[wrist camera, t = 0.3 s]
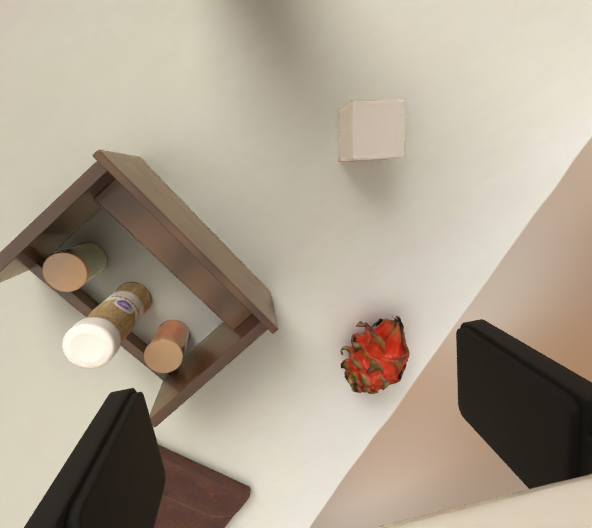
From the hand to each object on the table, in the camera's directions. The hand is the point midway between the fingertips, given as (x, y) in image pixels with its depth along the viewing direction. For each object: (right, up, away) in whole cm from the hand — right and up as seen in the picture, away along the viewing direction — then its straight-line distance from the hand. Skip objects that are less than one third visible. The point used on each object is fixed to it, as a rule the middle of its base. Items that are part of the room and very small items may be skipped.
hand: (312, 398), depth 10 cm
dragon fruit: (+10, -7, +41) cm, 43 cm away
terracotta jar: (-17, -5, +37) cm, 41 cm away
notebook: (-20, -31, +43) cm, 57 cm away
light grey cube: (+8, +20, +34) cm, 40 cm away
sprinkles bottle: (-21, 0, +35) cm, 41 cm away
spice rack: (-18, +2, +35) cm, 39 cm away
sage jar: (-26, +4, +33) cm, 42 cm away
